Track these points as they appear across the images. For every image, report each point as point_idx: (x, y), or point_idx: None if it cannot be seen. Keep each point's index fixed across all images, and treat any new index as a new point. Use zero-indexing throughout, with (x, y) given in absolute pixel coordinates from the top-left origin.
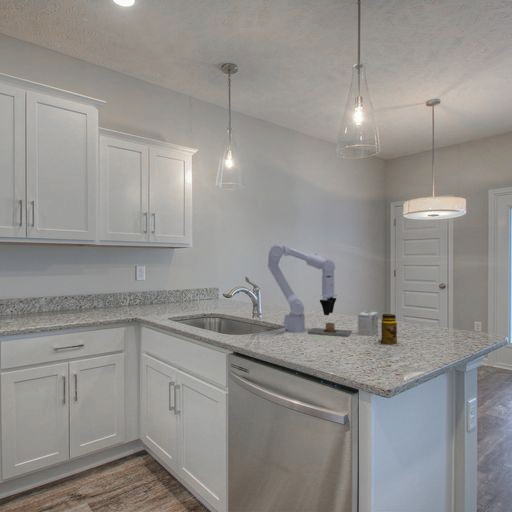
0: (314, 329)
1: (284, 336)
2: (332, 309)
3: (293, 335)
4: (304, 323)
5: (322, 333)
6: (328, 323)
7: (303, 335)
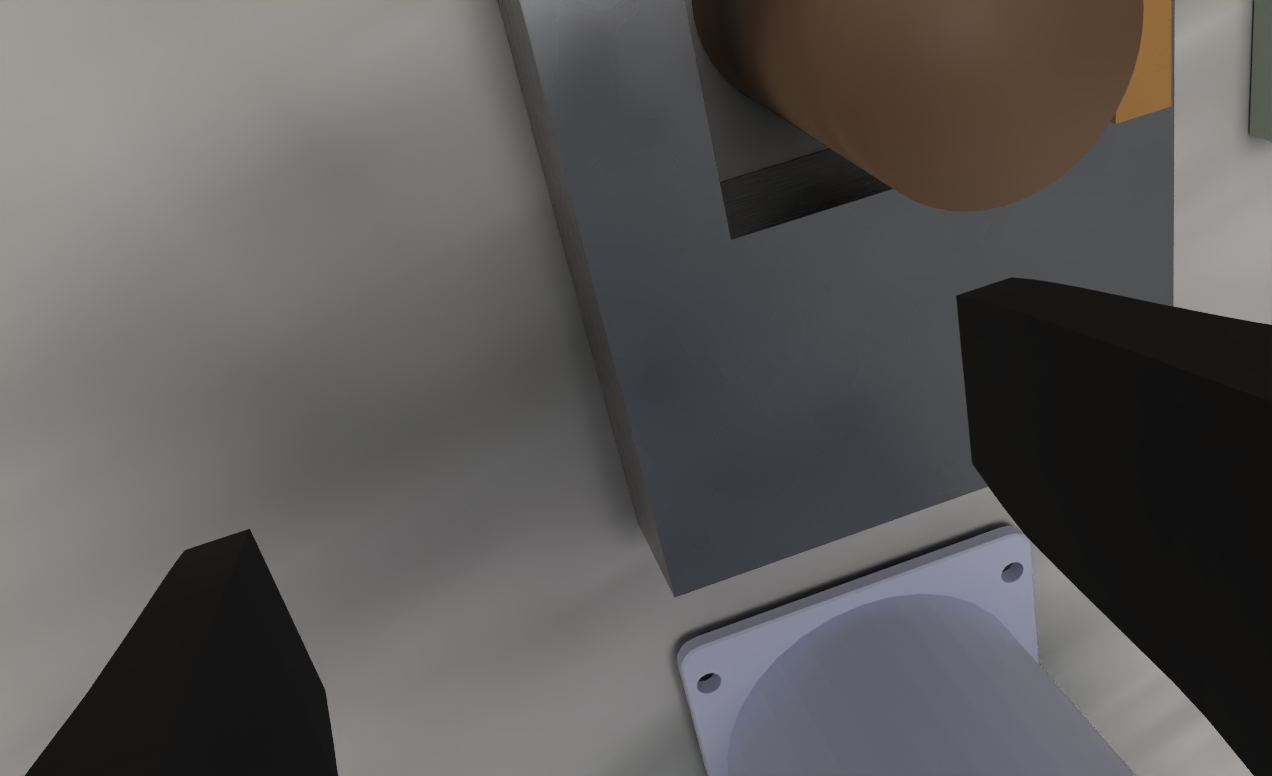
0: (848, 470)
1: (1176, 700)
2: (225, 633)
3: (1039, 657)
4: (945, 760)
5: (1164, 66)
6: (1000, 109)
7: (959, 535)
